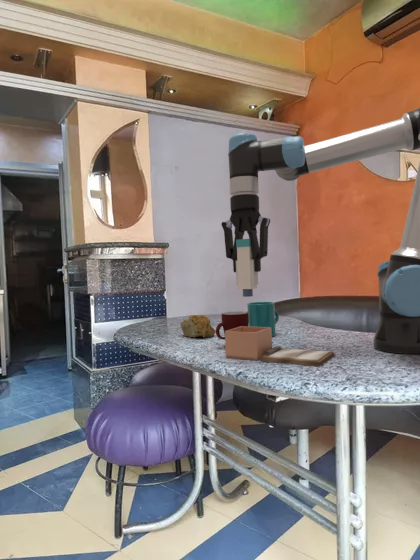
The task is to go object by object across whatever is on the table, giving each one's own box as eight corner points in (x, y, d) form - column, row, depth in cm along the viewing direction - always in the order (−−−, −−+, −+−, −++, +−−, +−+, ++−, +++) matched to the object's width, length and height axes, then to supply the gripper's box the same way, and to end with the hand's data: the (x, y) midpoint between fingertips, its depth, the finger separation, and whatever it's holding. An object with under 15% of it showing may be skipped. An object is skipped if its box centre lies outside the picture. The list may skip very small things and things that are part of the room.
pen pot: (272, 353, 111) (271, 327, 110) (257, 360, 103) (256, 332, 103) (242, 350, 116) (241, 326, 115) (225, 357, 108) (224, 331, 108)
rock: (188, 350, 145) (175, 325, 147) (207, 341, 150) (194, 317, 152) (203, 339, 135) (189, 313, 138) (222, 330, 141) (209, 305, 143)
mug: (226, 351, 116) (225, 316, 116) (210, 347, 123) (209, 314, 122) (255, 345, 122) (253, 312, 121) (238, 342, 128) (237, 310, 128)
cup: (287, 334, 139) (286, 301, 138) (260, 339, 132) (258, 304, 132) (270, 331, 146) (268, 300, 146) (243, 336, 140) (241, 303, 140)
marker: (257, 295, 109) (255, 239, 108) (251, 296, 106) (249, 238, 105) (244, 295, 111) (242, 240, 110) (238, 296, 108) (236, 239, 107)
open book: (334, 355, 104) (333, 347, 104) (319, 366, 94) (319, 357, 94) (279, 351, 112) (278, 344, 112) (260, 361, 102) (259, 353, 102)
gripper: (279, 193, 106) (282, 283, 107) (224, 200, 115) (226, 284, 116) (267, 189, 100) (271, 285, 101) (209, 197, 109) (213, 285, 109)
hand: (247, 284), depth 108 cm, fingers closed on marker, 4 cm apart
